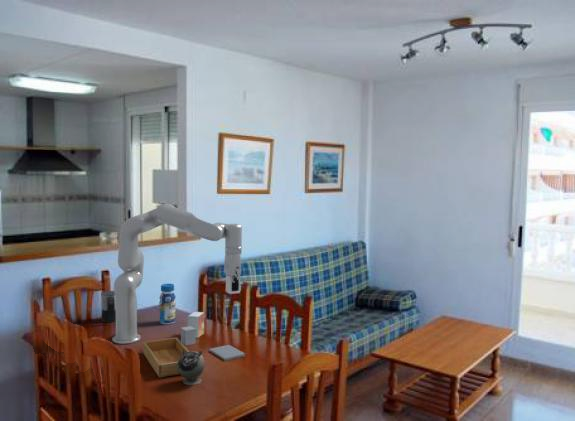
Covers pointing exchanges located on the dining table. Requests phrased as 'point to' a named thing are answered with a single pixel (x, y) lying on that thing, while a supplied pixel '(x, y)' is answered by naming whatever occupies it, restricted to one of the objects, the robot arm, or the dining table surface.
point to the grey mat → (227, 352)
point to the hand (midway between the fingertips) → (232, 289)
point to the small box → (197, 322)
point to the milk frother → (108, 306)
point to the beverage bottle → (167, 304)
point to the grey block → (188, 335)
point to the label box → (229, 285)
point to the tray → (164, 355)
